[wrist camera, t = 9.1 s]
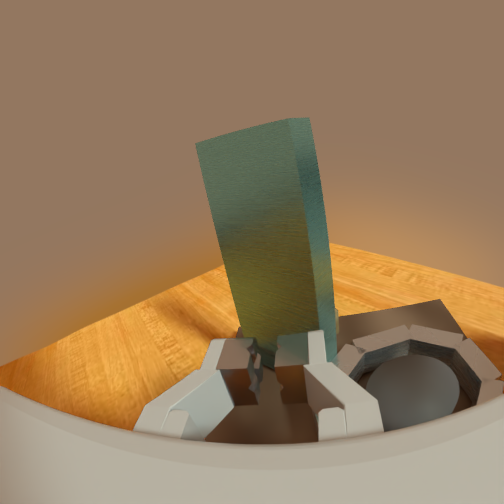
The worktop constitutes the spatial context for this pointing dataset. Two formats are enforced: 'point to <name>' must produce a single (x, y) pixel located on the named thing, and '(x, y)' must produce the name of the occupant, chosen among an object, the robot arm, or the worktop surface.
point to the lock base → (374, 382)
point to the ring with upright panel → (303, 257)
